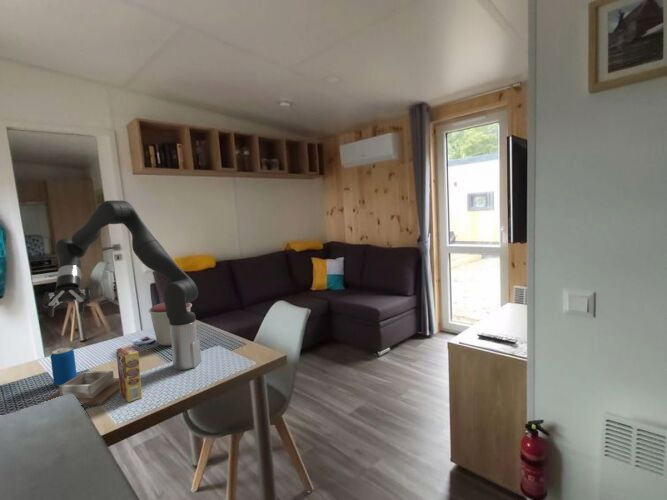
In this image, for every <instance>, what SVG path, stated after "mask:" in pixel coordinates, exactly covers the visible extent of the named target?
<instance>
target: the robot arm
mask: <svg viewBox="0 0 667 500" xmlns="http://www.w3.org/2000/svg"><path fill="white" fill-rule="evenodd" d="M132 205H133V204H131V203H130V202H128V201H126V200H105V201H103V202H101V203H100V204H99V205H98V207H97V208H96V209H95V211H94V212H93V213H92V215H91V216H90V217H89V219H88V220H87V222H86V223H85V224H84V225H83V226H82V227H80V228H79V229H78V230H77V231H76V232H75V233H73V235H72V236H71V238H67V237H64V238H63V237H62V238H60V239H58V240H57V242H56V243H55V253H56V256H57V259H58V265H59V266H58V271H57V275H56V283H55V284H56V285H55V291H54V292H49V291H45V292H44V294H43V299H42V306H43V308H44V309H47V314H48V316H49V317H50V318H54V315H55V308H56V307H57V306H59V305H60V304H62V303H68V302H73V301H75V302H76V303H78V314H83V313H84V311H85V304H86V305H87V304H90V303H91V291H90V289H89V287H85V288H83V289H81V282H82V273H81V266H82V263H81V262H82V261H81V259H80V258H83V257H84V256H85V255H86V253H87V251H88V249H89V247H90V246H91V245H92V244H93V243H95V242H96V241H97V240H98V239H99V238H100V236H101V233H102V229H103V228H104V227H106V226H108V225H120V224H122V225H124V226H125V227H126V228H127V229H128V231H129V233H130V234H131V239H132V240H131V246H132V251H133V253H134V254H135V256H136V257H137V258H138V260H139V261H140V262H141V263H142V264H143V265H144V266H146V267H147V268H148V269H150V270H152V271H154V272H155V273H158V274H159V275H161V276H163V277H164V278H165V279H166V280H168V281H169V283H168V284H166V285H165V287H164V290H163V300H164V302H165V308H166V314H167V317H168V319H169V323H170V335H171V345H170V346H171V354H172V355H171V356H172V365H173V367H172V368H173V369H174V370H176V371H182V370H185V371H186V370H188V369H194V368H196V367H197V366H198V365H199V364H200V363H201V362H202V354H201V340H200V338H199V337H198V333H197V332H198V331H197V330H198V329H197V318H196V313H195V312H193V311H190V312H189V311H187V308H186V303H191V302H193V301H196V299H197V298H198V296H199V290H198V286H197V284H196V283H195V281H194V280H193V279H192V278H191V277H190V276H189V275H188V274H187V273H186V272H185V271H184V270H183V269H181V267H180V266H179V265H178V264H177V262H175V260H174V259H173V258H172V257H171V256H170V255H169V254H168V252H167V251H166V250H165V247H163V246H162V244H161V243H160V242H159V241H158V240H157V238H155V236H154V235H153V233H152V232H151V230H149V228H148V227H147V226H146V225H145V223H144V222H143V221H142V218H141V217H140V215H139V214H138V212H137V211H136V209H135V208H134V206H132ZM82 294H83V295H84V296H85V297H84V299H83V298H82V297H81V295H82ZM52 298H53V299H52ZM51 299H52V301H50V300H51ZM164 302H163V303H164Z"/></svg>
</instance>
